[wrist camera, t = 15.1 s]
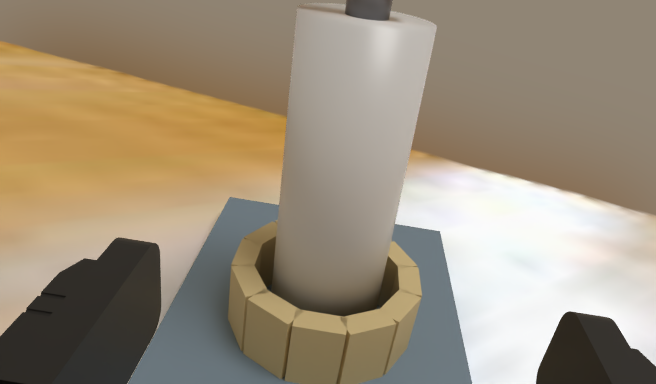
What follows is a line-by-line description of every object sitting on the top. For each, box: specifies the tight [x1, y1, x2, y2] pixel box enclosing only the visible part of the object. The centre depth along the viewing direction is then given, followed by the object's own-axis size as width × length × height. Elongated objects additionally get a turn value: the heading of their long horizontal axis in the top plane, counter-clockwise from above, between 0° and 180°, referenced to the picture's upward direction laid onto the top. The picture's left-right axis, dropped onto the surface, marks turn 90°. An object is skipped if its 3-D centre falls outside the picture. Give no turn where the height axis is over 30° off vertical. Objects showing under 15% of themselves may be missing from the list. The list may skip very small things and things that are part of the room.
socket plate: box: [128, 197, 472, 384], centre depth 24 cm, size 14×20×4 cm
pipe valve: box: [271, 0, 437, 317], centre depth 21 cm, size 7×5×16 cm
